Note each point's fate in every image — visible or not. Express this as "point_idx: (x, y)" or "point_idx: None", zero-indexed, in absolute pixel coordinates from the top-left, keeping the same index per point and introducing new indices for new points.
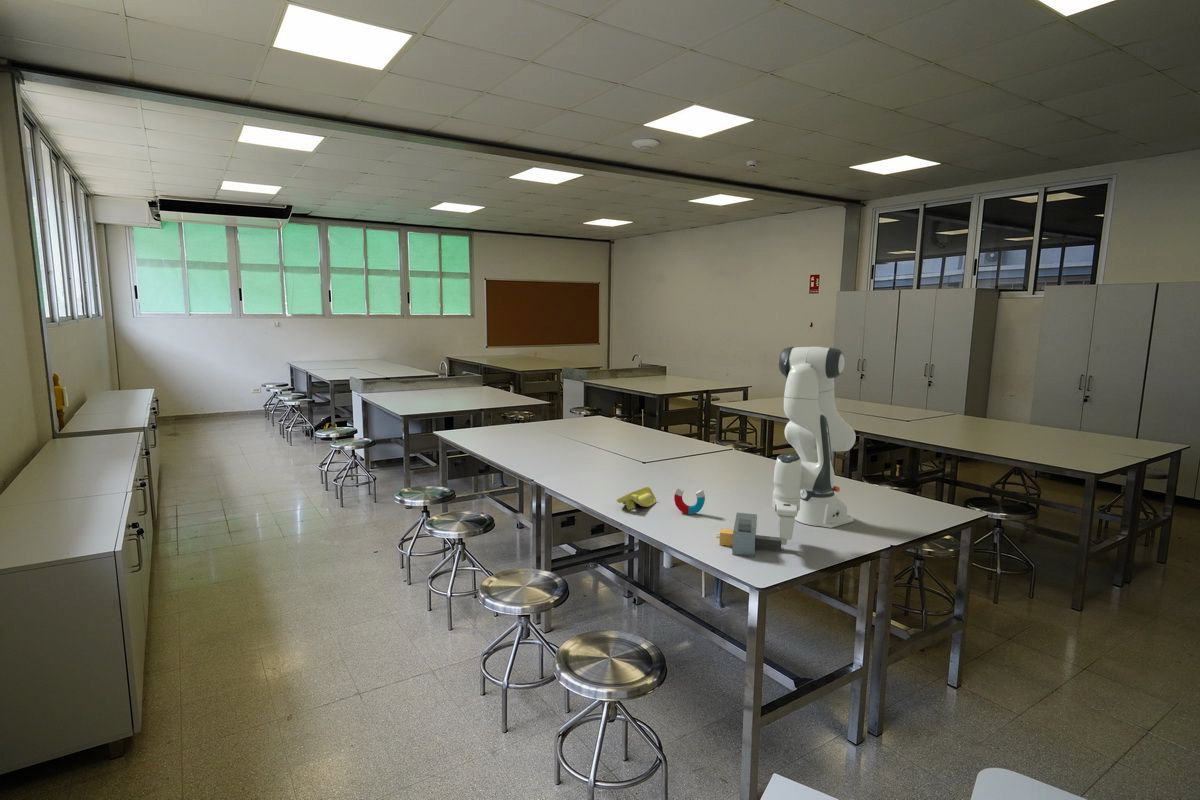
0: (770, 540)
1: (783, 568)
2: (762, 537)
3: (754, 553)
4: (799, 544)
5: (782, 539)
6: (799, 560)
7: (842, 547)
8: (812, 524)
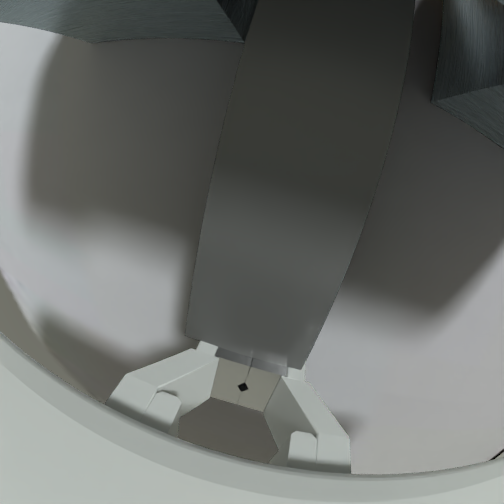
0: (206, 206)
1: (4, 207)
2: (302, 101)
3: (93, 36)
4: (357, 420)
5: (186, 357)
6: (96, 330)
7: None
8: (501, 456)
